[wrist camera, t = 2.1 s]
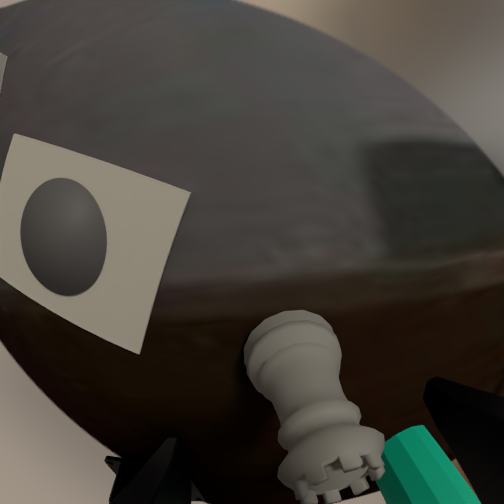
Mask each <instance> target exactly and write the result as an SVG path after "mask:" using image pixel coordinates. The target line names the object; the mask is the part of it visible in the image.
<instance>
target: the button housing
mask: <svg viewBox="0 0 504 504" xmlns="http://www.w3.org/2000/svg"><path fill="white" fill-rule="evenodd" d="M7 58H8V57H7V56H5V55H4V54H2V53H0V92H1V86H2V81H3V76H4V71H5V66H6V62H7Z"/></svg>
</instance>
